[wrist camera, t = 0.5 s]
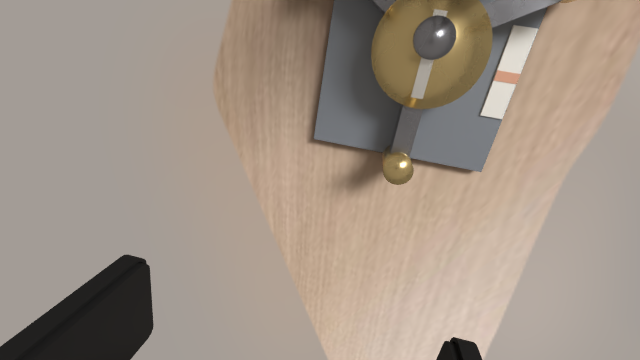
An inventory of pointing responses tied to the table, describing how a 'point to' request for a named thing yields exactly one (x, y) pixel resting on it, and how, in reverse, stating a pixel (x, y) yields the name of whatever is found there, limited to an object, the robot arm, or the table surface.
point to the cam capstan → (433, 59)
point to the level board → (436, 123)
